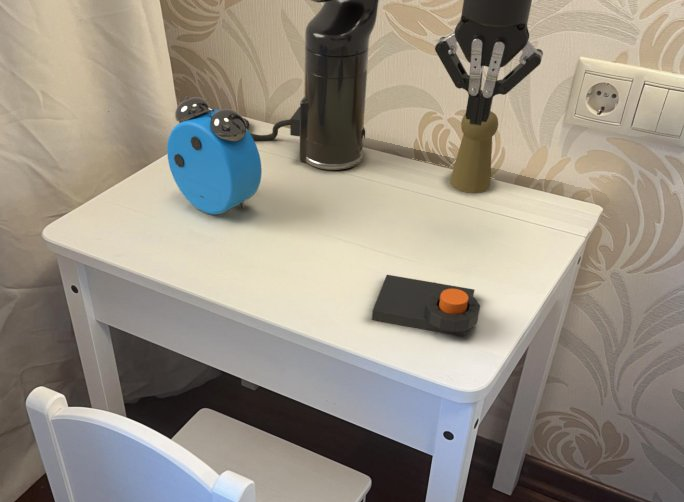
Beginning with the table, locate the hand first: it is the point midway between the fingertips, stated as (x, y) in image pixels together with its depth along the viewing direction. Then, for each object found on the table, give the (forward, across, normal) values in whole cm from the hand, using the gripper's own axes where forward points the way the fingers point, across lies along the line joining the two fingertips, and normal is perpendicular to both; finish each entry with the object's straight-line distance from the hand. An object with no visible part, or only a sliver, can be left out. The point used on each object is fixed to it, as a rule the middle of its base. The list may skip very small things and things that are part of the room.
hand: (476, 122), depth 103 cm
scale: (+16, +1, +19) cm, 25 cm away
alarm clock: (+17, +34, +4) cm, 38 cm away
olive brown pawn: (+16, +1, -15) cm, 22 cm away
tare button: (+13, -3, +21) cm, 25 cm away
